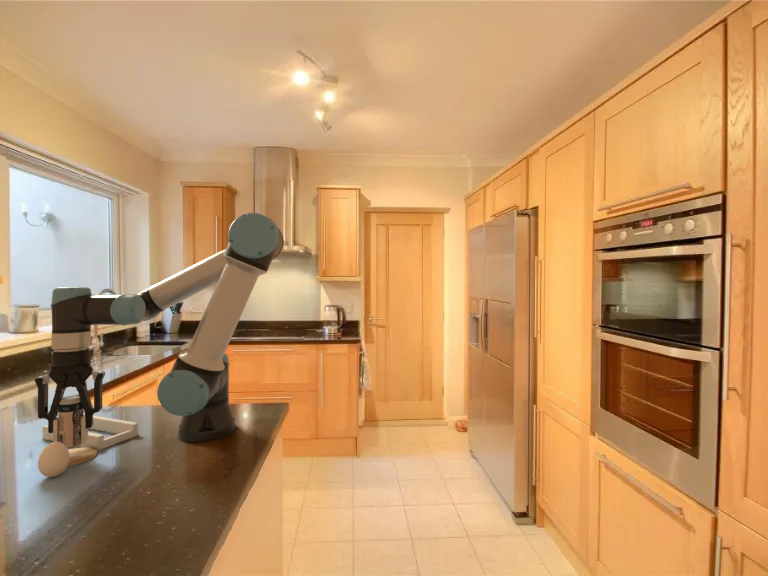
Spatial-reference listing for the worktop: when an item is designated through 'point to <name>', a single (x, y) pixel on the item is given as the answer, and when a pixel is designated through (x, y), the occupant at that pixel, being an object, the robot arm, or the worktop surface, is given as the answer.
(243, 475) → the worktop surface
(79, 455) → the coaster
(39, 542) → the worktop surface
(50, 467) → the egg
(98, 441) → the beige u-shaped bracket
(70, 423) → the beer can
